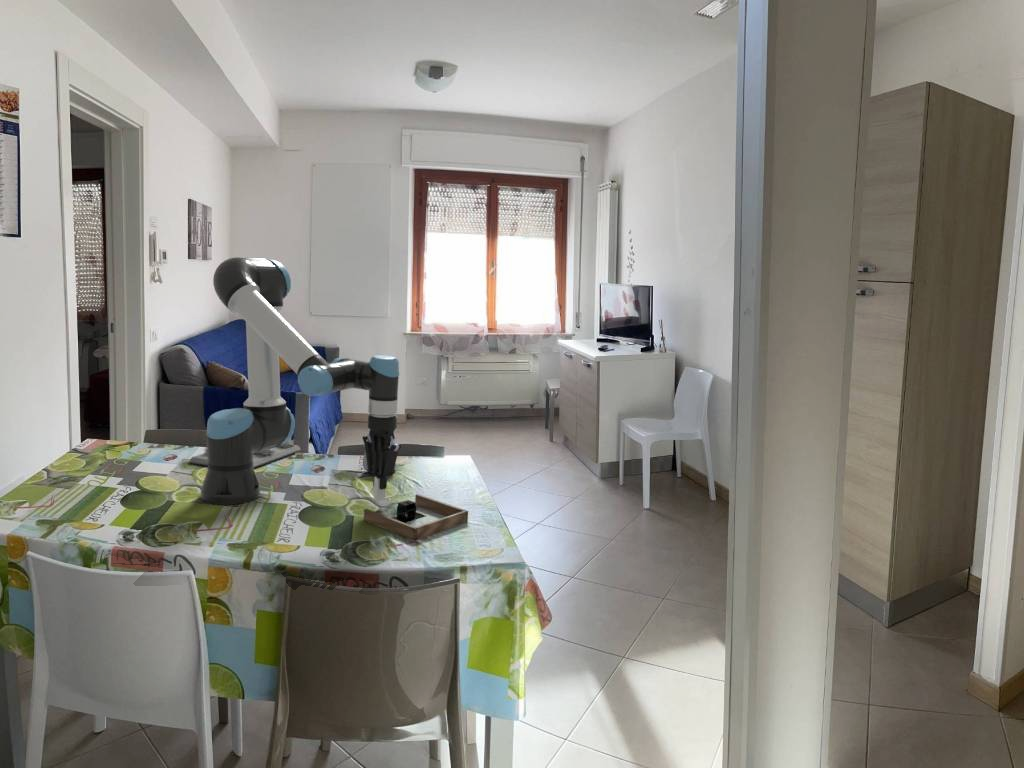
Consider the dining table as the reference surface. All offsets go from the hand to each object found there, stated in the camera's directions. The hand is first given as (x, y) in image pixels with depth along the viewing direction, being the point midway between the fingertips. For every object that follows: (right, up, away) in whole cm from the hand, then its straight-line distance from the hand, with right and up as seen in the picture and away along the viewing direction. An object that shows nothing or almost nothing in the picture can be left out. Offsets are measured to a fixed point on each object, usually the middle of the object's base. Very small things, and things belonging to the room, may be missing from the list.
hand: (379, 499), depth 200 cm
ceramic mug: (-6, +3, +34) cm, 35 cm away
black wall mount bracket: (+8, -4, -5) cm, 11 cm away
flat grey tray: (-51, +7, +42) cm, 66 cm away
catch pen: (+11, -4, -8) cm, 14 cm away
